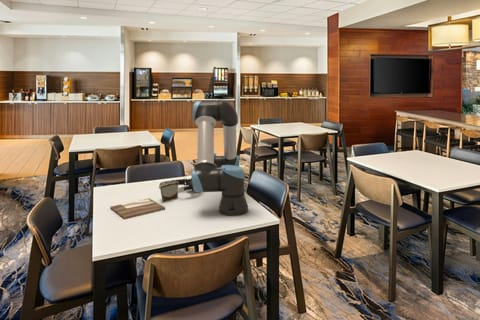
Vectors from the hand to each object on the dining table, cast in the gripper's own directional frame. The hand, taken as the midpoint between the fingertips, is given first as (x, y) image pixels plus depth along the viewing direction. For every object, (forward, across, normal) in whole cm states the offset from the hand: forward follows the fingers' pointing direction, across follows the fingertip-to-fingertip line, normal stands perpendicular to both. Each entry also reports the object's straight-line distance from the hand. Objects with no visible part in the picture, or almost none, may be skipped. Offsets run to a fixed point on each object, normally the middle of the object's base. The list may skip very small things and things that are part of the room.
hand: (171, 187), depth 207 cm
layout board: (+24, -2, -6) cm, 25 cm away
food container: (+3, 0, -6) cm, 7 cm away
